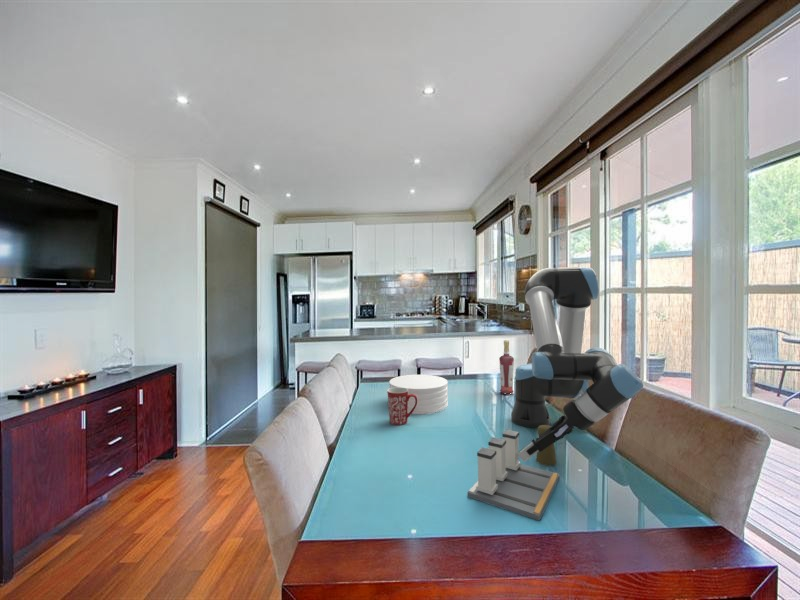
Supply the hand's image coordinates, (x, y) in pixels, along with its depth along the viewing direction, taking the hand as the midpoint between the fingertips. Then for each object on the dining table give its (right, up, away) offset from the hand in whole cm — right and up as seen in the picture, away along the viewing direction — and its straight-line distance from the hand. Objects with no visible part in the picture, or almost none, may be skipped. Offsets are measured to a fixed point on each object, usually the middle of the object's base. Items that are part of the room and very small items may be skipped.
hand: (521, 457), depth 104 cm
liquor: (+21, -4, +84) cm, 87 cm away
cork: (+11, -5, +8) cm, 14 cm away
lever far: (-13, -4, -11) cm, 17 cm away
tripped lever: (-2, -3, +2) cm, 5 cm away
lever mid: (-8, -4, -4) cm, 10 cm away
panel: (-4, -5, -7) cm, 9 cm away
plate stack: (-26, -5, +67) cm, 73 cm away
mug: (-34, -5, +43) cm, 56 cm away
